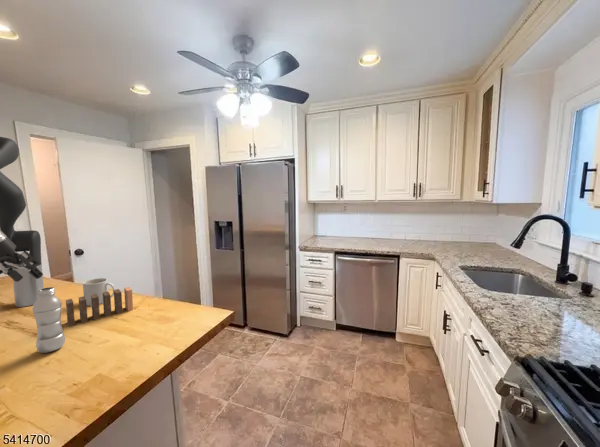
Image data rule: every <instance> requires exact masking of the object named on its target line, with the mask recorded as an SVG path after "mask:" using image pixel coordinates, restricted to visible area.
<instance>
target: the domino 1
mask: <svg viewBox="0 0 600 447" xmlns="http://www.w3.org/2000/svg"><path fill="white" fill-rule="evenodd" d="M65 308H66V321H67V322H66V323H67V326H68V328H69V327H73V326H76V323H75V322H76V320H75V310H74V309H75V308H74V301H73V298H68V299H65Z"/></svg>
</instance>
